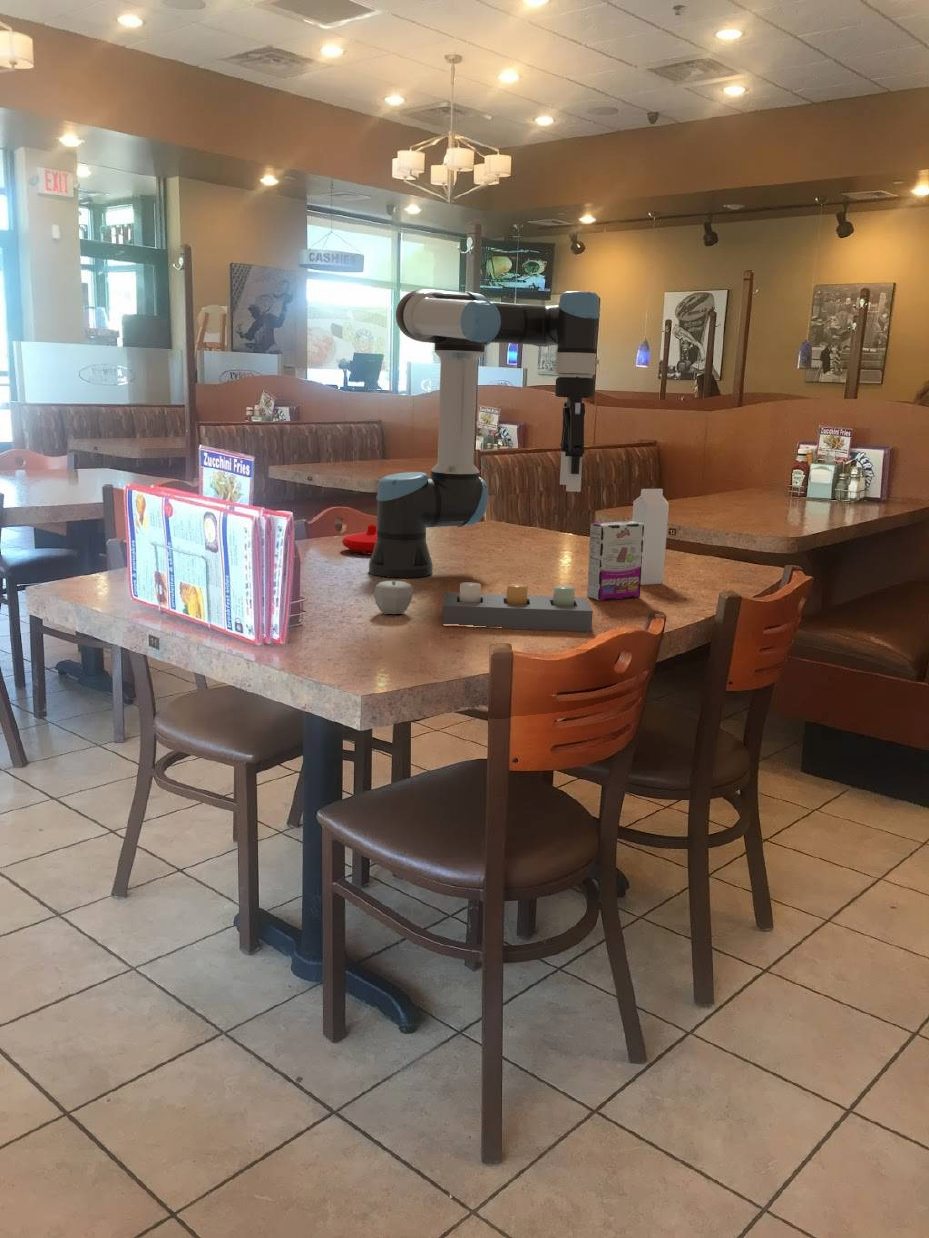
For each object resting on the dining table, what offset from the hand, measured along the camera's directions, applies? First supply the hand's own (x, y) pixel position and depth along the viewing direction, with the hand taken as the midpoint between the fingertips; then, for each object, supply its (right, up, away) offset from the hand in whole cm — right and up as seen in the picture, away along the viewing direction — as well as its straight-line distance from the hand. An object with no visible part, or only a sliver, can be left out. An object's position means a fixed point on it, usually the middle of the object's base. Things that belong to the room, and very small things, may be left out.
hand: (569, 488), depth 196 cm
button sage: (-2, -24, -4) cm, 24 cm away
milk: (+22, -17, +41) cm, 49 cm away
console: (-11, -26, -3) cm, 28 cm away
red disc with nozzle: (-45, -8, +70) cm, 84 cm away
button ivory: (-20, -23, -3) cm, 31 cm away
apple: (-35, -25, 0) cm, 43 cm away
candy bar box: (+12, -21, +22) cm, 33 cm away
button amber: (-11, -24, -3) cm, 26 cm away
